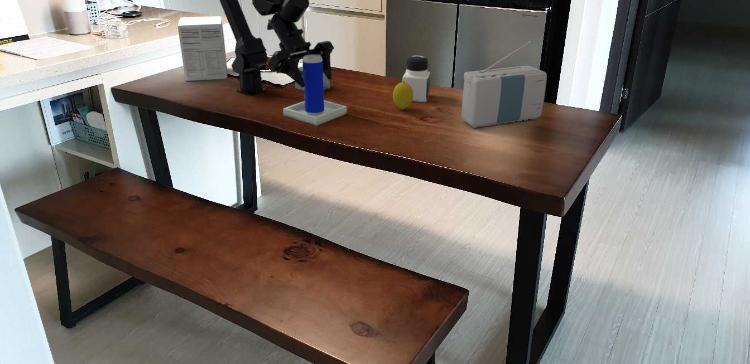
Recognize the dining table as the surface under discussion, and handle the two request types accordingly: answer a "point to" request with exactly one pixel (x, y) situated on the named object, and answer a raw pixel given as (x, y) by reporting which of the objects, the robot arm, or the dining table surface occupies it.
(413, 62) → the medicine bottle
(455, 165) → the dining table surface
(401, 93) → the lemon
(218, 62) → the supplement box
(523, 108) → the stereo radio cassette player
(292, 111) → the tray
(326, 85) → the box
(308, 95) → the beverage can
